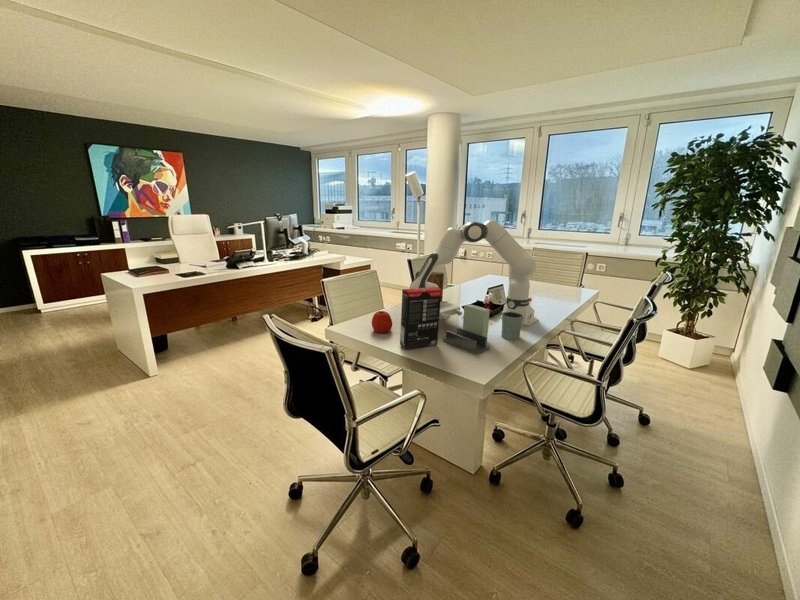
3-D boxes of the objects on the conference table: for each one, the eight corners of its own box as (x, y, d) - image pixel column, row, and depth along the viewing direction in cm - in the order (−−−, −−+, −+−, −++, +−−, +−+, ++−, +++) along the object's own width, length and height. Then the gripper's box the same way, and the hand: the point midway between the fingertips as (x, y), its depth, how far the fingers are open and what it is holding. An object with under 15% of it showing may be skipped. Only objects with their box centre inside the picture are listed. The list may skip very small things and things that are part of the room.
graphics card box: (431, 340, 165) (434, 285, 158) (439, 345, 159) (442, 288, 152) (399, 345, 158) (400, 288, 151) (405, 351, 152) (407, 291, 145)
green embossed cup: (505, 341, 166) (507, 317, 163) (496, 333, 176) (498, 311, 172) (524, 340, 167) (527, 317, 164) (514, 333, 177) (517, 311, 174)
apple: (368, 328, 179) (368, 309, 176) (388, 326, 183) (388, 307, 180) (374, 335, 169) (374, 315, 167) (395, 333, 173) (395, 313, 170)
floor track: (455, 336, 170) (456, 326, 169) (489, 349, 155) (490, 338, 154) (443, 341, 164) (443, 330, 163) (476, 354, 150) (477, 343, 148)
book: (441, 313, 208) (444, 272, 201) (441, 315, 203) (443, 274, 196) (415, 311, 210) (416, 271, 204) (413, 313, 205) (415, 273, 199)
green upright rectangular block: (467, 334, 174) (469, 304, 170) (486, 341, 166) (489, 309, 161) (462, 335, 172) (464, 305, 168) (481, 343, 163) (484, 311, 159)
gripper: (422, 307, 179) (441, 313, 169) (448, 300, 192) (468, 306, 182) (421, 318, 180) (441, 325, 170) (447, 311, 193) (467, 317, 183)
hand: (455, 315), depth 176 cm, fingers open, 8 cm apart
